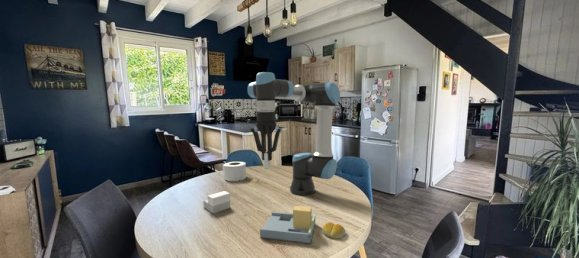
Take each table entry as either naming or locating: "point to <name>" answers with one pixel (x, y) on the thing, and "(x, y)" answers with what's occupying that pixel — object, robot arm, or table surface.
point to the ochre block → (302, 217)
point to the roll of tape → (234, 171)
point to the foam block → (217, 202)
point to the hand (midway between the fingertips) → (267, 167)
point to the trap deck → (286, 229)
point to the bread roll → (333, 230)
